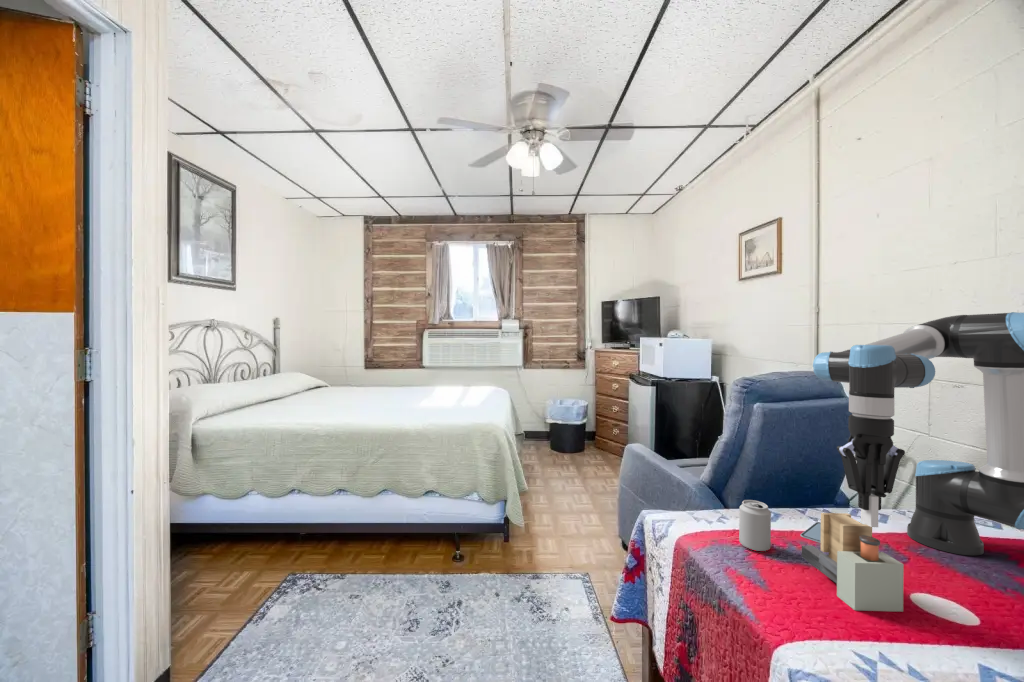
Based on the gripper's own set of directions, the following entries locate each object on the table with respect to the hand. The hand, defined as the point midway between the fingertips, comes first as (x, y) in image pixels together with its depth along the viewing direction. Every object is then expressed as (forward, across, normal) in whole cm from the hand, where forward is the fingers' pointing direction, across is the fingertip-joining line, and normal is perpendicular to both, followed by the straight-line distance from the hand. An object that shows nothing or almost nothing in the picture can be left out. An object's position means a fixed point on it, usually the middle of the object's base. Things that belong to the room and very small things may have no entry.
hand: (869, 524), depth 90 cm
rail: (+17, 0, -11) cm, 20 cm away
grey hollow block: (+17, 0, 0) cm, 17 cm away
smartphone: (+18, -14, -34) cm, 41 cm away
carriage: (+17, 0, -7) cm, 19 cm away
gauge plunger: (+7, 0, 0) cm, 7 cm away
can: (+17, +11, -25) cm, 32 cm away
